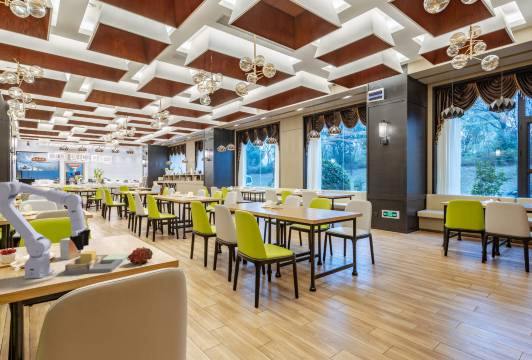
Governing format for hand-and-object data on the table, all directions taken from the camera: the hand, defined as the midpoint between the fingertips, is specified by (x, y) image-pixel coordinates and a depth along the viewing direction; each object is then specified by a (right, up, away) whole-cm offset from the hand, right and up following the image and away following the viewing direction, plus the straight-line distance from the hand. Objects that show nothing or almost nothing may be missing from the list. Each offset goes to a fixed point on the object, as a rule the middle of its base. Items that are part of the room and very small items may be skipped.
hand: (83, 247), depth 138 cm
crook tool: (+16, -9, +20) cm, 27 cm away
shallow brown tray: (0, -9, +2) cm, 9 cm away
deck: (+3, -10, +7) cm, 13 cm away
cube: (-1, -9, +6) cm, 10 cm away
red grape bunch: (+23, -10, +9) cm, 27 cm away
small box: (-19, -10, +21) cm, 30 cm away
